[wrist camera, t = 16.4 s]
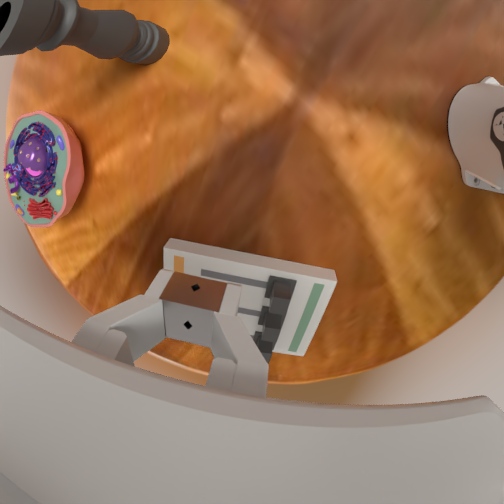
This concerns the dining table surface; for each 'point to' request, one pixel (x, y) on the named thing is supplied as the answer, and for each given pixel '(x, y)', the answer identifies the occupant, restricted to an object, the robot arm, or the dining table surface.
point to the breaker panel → (260, 287)
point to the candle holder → (79, 30)
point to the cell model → (42, 168)
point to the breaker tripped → (270, 324)
